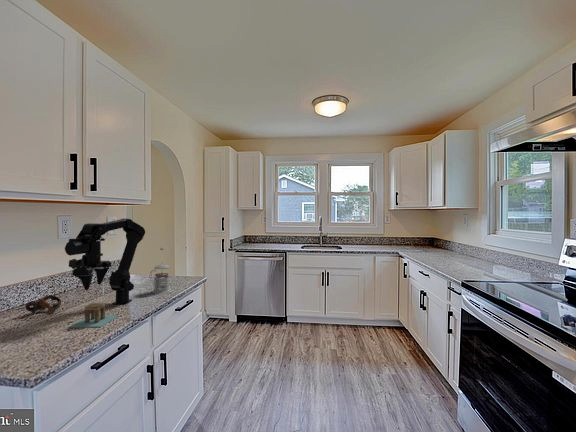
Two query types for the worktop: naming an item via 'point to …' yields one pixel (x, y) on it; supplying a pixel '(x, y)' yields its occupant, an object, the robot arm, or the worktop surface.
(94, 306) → the brown u-shaped block
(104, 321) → the mat
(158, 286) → the french press
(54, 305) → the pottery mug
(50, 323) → the worktop surface
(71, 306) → the worktop surface
